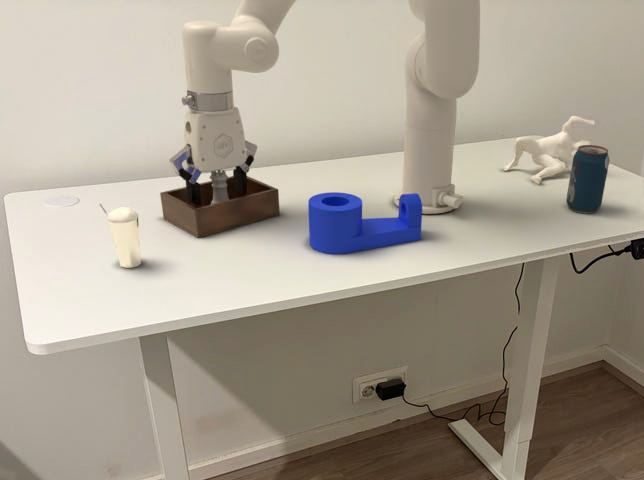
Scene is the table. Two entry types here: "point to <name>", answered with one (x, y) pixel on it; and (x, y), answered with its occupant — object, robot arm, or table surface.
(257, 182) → the crate
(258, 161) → the table surface
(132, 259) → the milkshake
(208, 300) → the table surface
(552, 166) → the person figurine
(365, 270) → the table surface
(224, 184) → the rook chess piece
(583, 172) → the soda can
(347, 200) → the bracket
